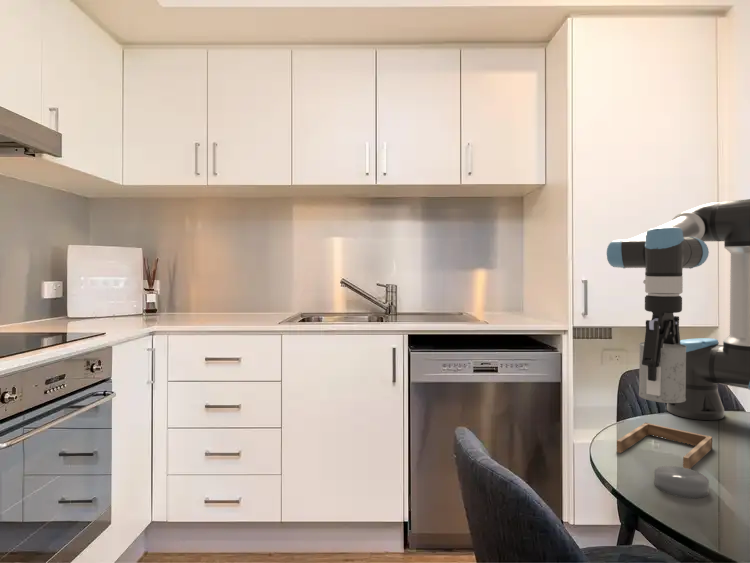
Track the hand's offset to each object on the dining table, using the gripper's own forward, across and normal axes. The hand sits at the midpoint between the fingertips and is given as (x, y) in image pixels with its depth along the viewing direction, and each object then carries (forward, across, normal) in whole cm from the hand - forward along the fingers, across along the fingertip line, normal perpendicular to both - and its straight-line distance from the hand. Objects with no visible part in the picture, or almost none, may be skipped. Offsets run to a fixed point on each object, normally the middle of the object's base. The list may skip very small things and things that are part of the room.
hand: (662, 390), depth 118 cm
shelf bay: (+18, -12, -3) cm, 22 cm away
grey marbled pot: (+2, 0, 0) cm, 2 cm away
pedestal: (+18, +8, +7) cm, 21 cm away
